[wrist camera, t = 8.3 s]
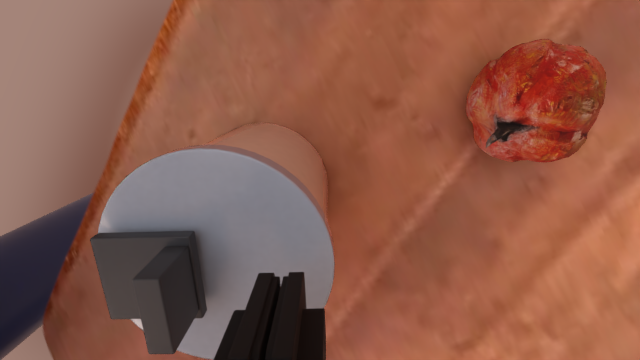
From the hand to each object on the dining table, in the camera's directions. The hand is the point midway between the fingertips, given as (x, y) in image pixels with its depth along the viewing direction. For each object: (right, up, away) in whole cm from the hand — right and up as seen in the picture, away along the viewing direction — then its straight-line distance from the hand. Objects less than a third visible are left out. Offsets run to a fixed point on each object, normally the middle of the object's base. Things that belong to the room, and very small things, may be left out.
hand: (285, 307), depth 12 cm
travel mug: (-3, +4, +14) cm, 15 cm away
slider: (-6, +1, +2) cm, 7 cm away
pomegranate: (+15, +10, +12) cm, 22 cm away
